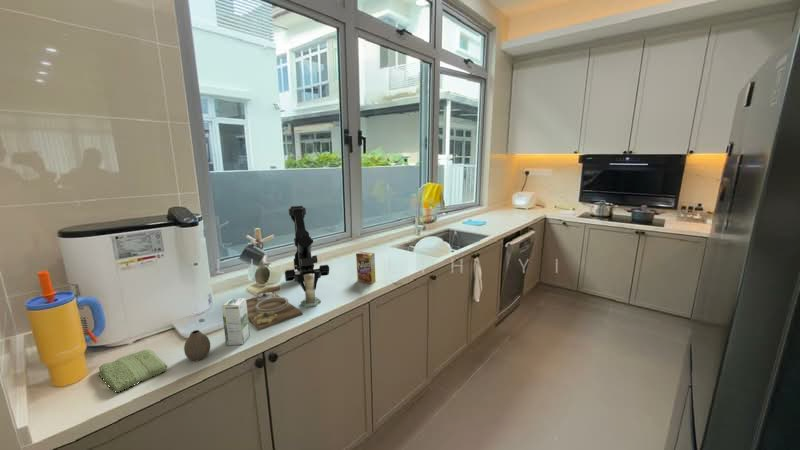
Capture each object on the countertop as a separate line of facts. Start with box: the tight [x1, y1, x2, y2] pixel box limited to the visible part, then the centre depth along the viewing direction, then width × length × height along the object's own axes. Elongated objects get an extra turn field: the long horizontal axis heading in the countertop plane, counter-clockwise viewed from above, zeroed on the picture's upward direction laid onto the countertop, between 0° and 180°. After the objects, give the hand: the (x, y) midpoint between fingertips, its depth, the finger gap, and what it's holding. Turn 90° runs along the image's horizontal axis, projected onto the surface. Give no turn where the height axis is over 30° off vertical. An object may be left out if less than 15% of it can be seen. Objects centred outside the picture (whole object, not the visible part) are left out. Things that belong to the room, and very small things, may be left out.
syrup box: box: [221, 297, 250, 346], centre depth 105 cm, size 6×6×14 cm
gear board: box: [246, 291, 303, 331], centre depth 129 cm, size 30×17×3 cm, turn 44°
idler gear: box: [300, 274, 322, 308], centre depth 133 cm, size 8×8×13 cm
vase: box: [183, 329, 211, 362], centre depth 97 cm, size 7×7×9 cm
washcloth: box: [97, 348, 168, 393], centre depth 91 cm, size 13×18×3 cm
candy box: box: [355, 250, 376, 284], centre depth 157 cm, size 9×4×15 cm, turn 64°
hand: (310, 290), depth 132 cm, fingers closed on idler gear, 4 cm apart
